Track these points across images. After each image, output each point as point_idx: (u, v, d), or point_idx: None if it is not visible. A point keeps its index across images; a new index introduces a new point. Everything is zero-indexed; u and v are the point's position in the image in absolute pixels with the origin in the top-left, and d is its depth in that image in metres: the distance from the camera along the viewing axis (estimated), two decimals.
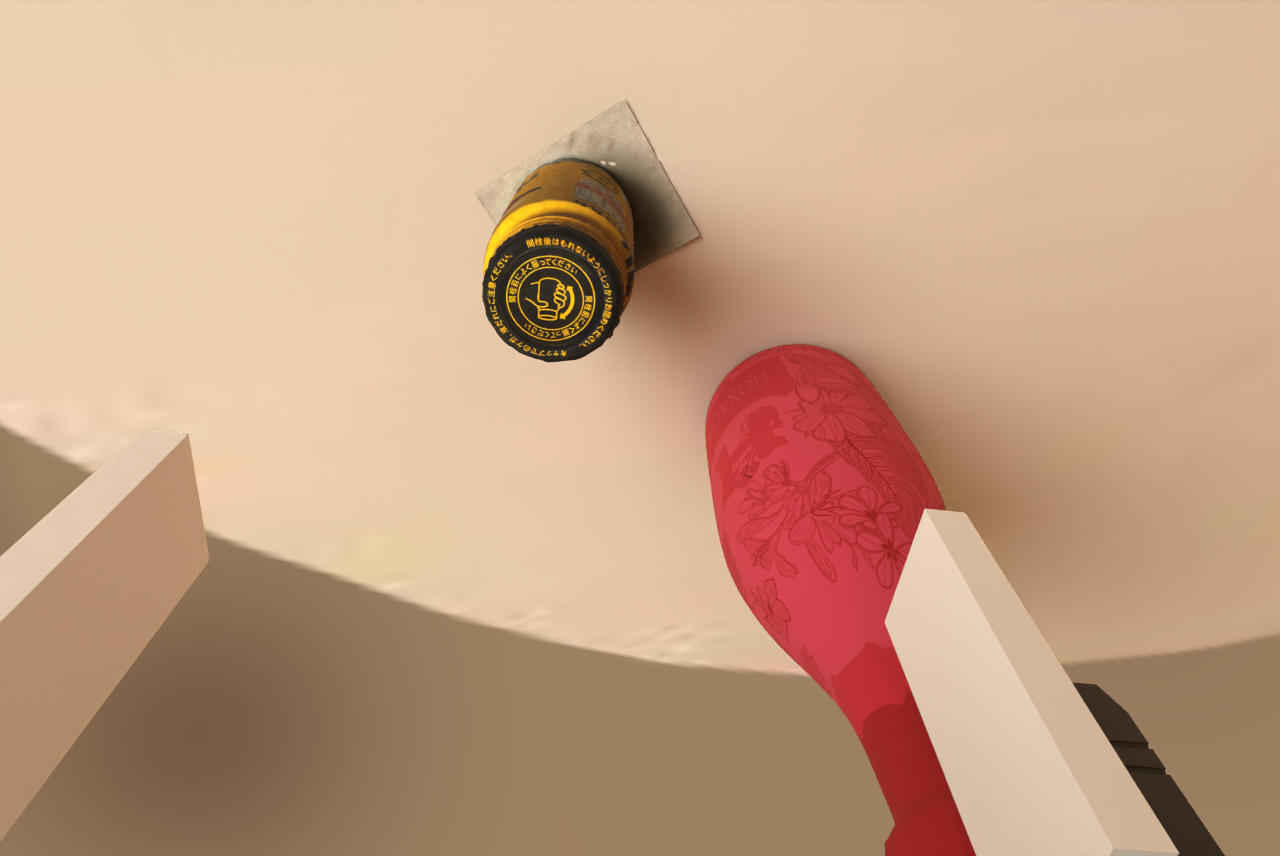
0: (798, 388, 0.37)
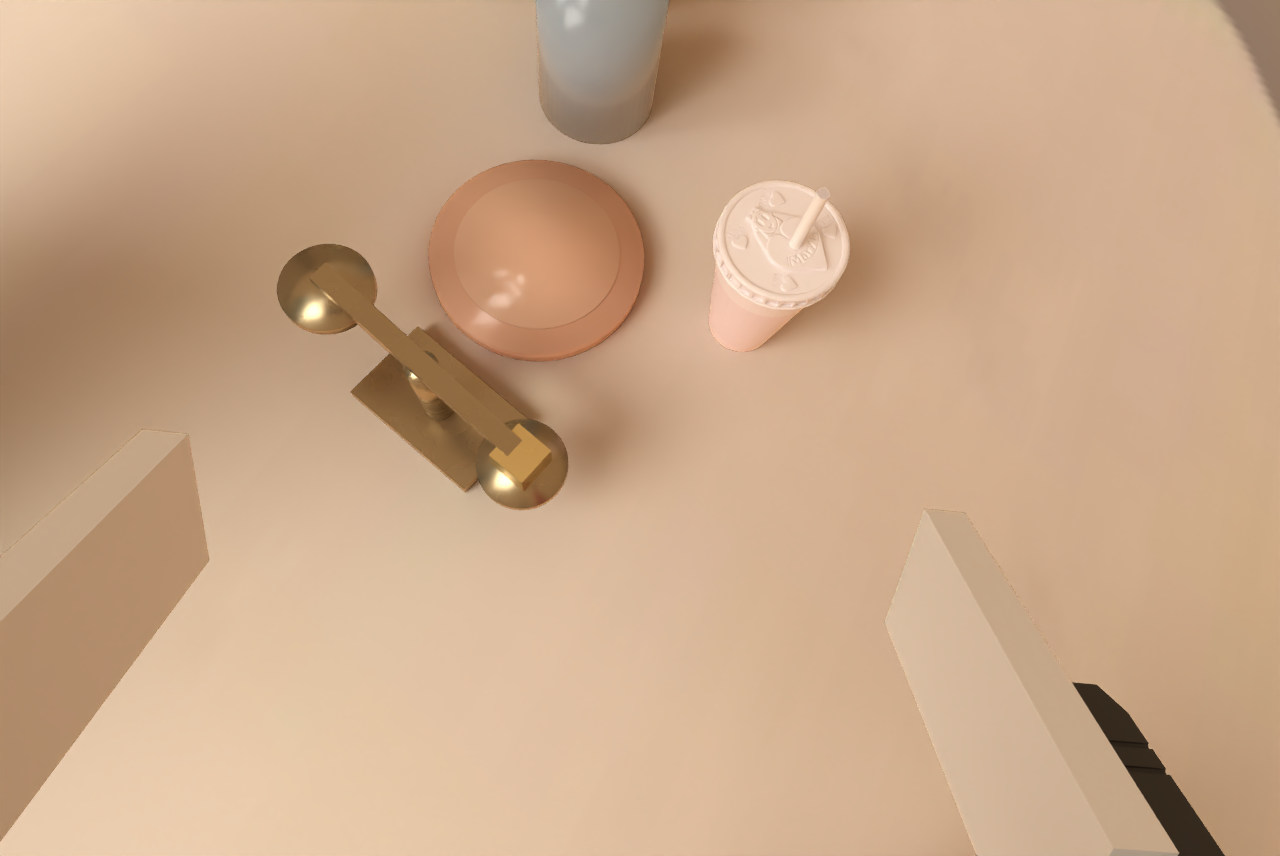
0: None
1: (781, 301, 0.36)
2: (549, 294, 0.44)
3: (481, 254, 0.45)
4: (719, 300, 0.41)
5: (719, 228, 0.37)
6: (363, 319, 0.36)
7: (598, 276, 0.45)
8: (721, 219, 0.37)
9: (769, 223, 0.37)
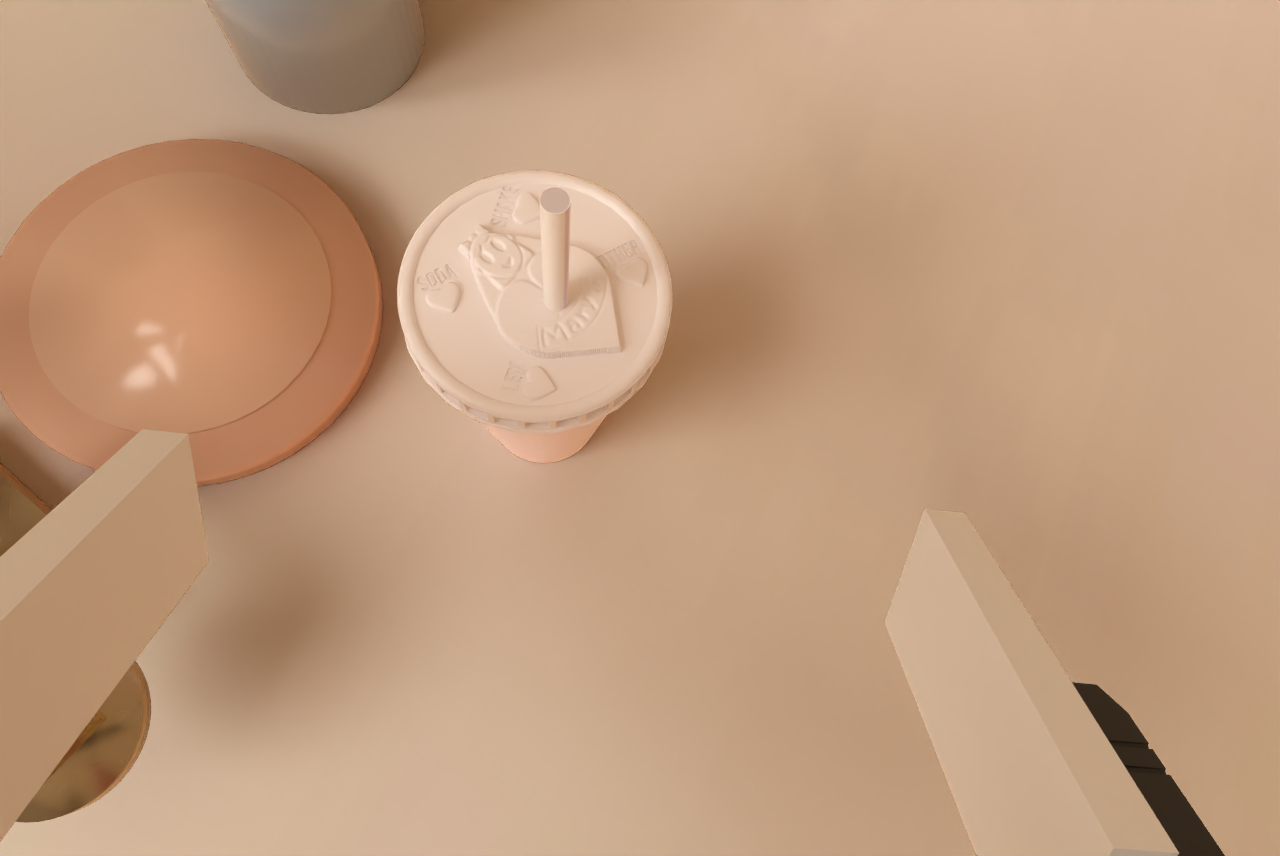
0: None
1: (521, 421, 0.18)
2: (196, 372, 0.25)
3: (80, 302, 0.26)
4: None
5: (402, 269, 0.18)
6: None
7: (287, 339, 0.26)
8: (408, 250, 0.18)
9: (505, 257, 0.18)
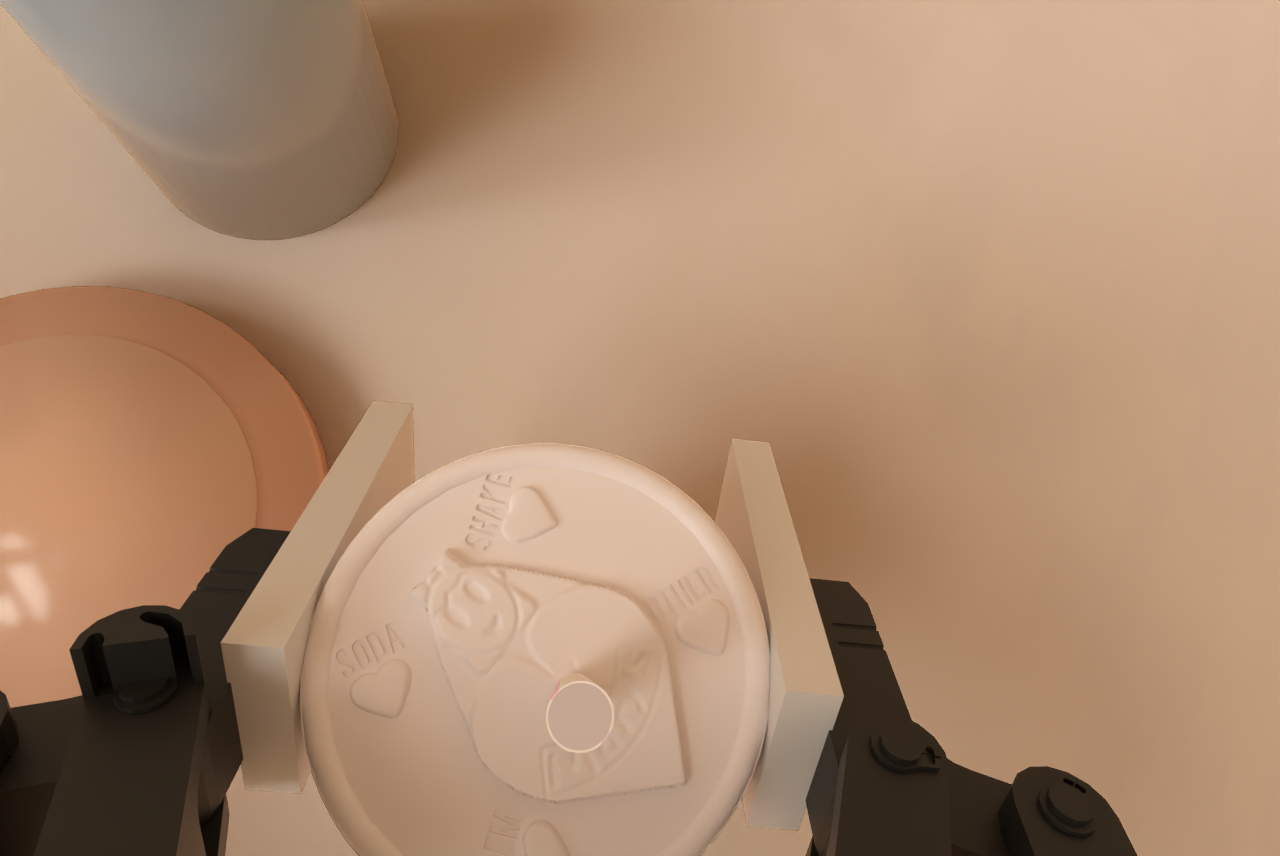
0: None
1: None
2: (57, 637, 0.18)
3: None
4: None
5: (311, 638, 0.11)
6: None
7: (191, 582, 0.18)
8: (322, 602, 0.11)
9: (488, 615, 0.11)
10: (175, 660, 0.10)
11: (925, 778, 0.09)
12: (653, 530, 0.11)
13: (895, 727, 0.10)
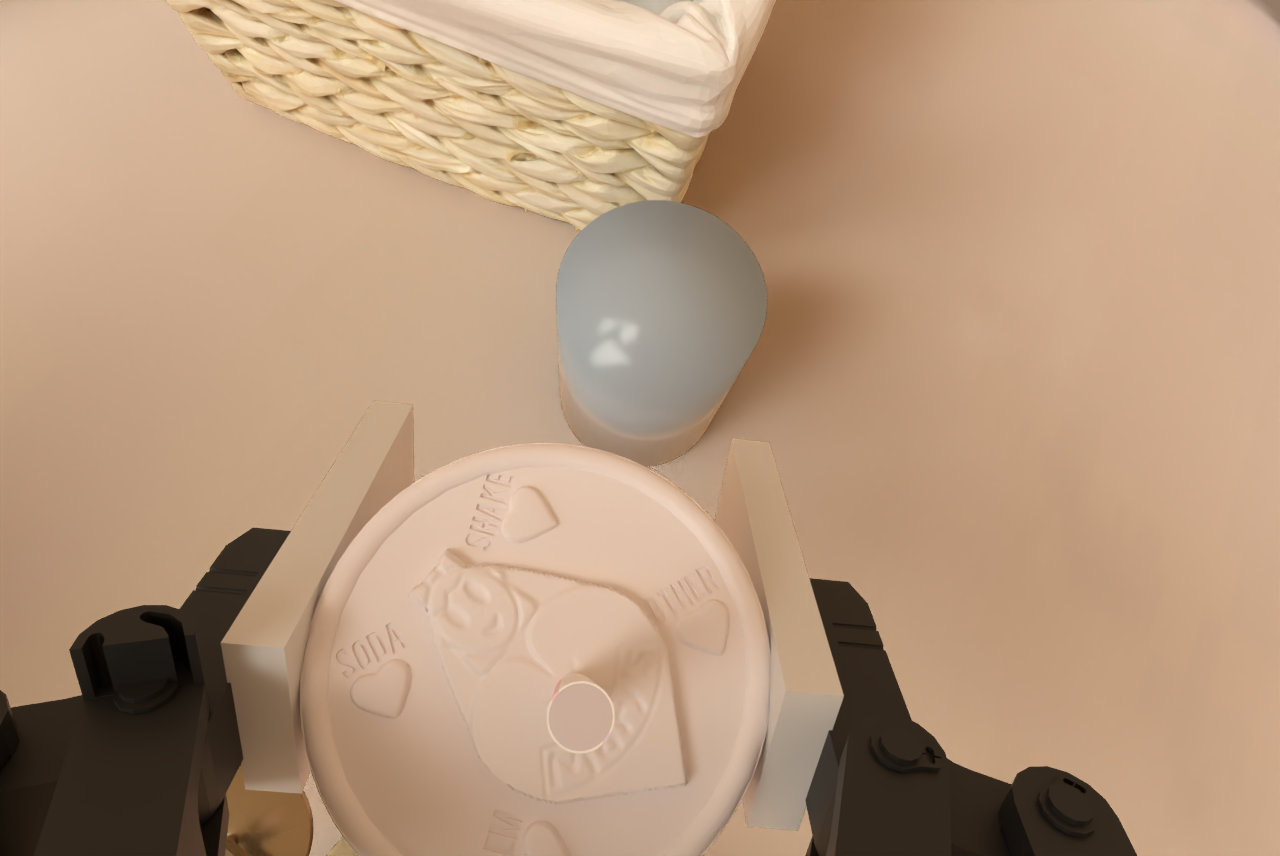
0: None
1: None
2: None
3: None
4: None
5: (310, 638, 0.11)
6: None
7: None
8: (322, 602, 0.11)
9: (488, 615, 0.11)
10: (175, 660, 0.10)
11: (925, 778, 0.09)
12: (653, 530, 0.11)
13: (895, 727, 0.10)
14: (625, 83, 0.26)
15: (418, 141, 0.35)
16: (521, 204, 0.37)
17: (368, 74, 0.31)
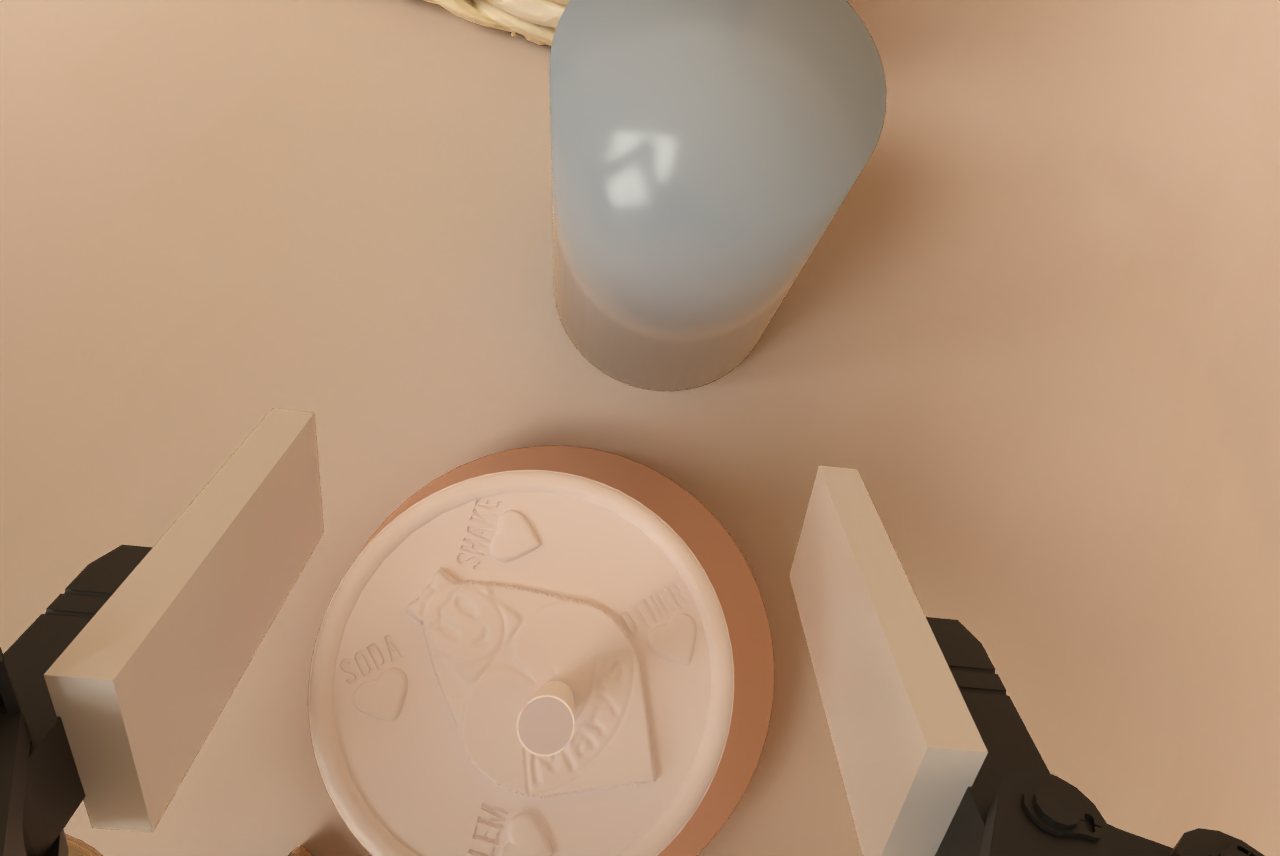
0: None
1: None
2: None
3: None
4: None
5: (317, 649, 0.12)
6: None
7: None
8: (328, 616, 0.12)
9: (476, 628, 0.12)
10: None
11: (1083, 846, 0.09)
12: (628, 550, 0.13)
13: (1051, 787, 0.09)
14: None
15: None
16: (506, 22, 0.27)
17: None
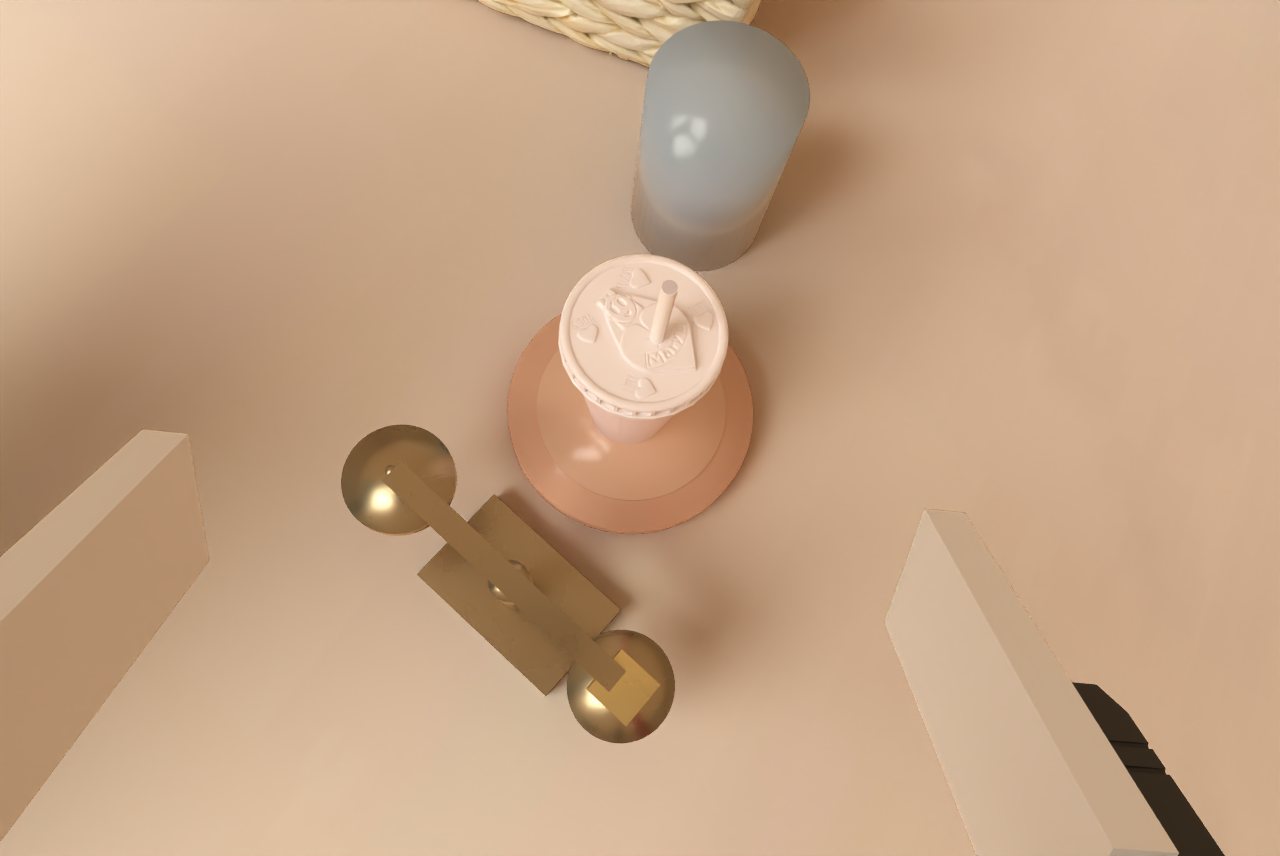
0: None
1: (634, 411, 0.29)
2: (646, 459, 0.38)
3: (568, 409, 0.39)
4: None
5: (563, 315, 0.30)
6: (444, 529, 0.30)
7: (701, 437, 0.39)
8: (566, 304, 0.30)
9: (626, 310, 0.30)
10: None
11: None
12: (686, 286, 0.30)
13: None
14: None
15: None
16: (607, 46, 0.45)
17: None
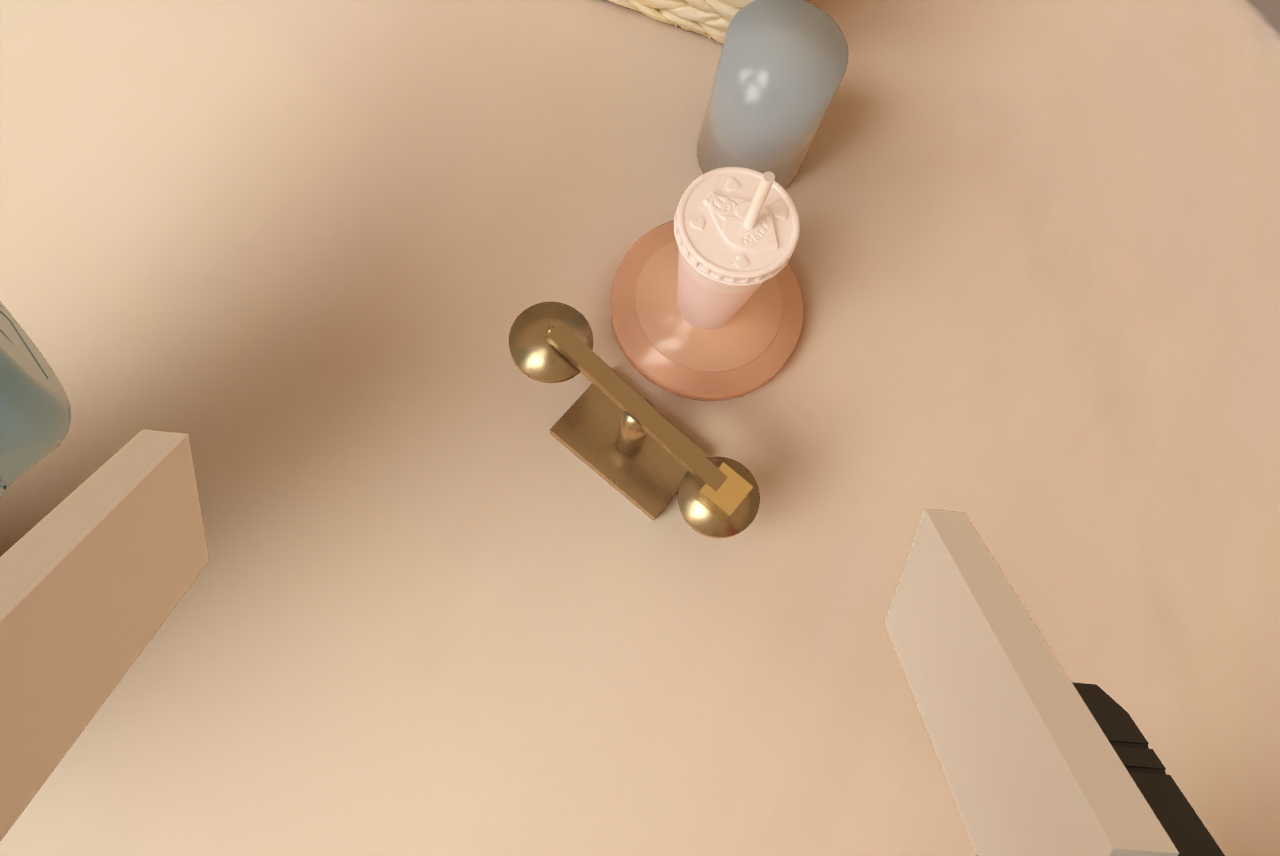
0: None
1: (735, 277, 0.40)
2: (722, 340, 0.49)
3: (659, 304, 0.49)
4: (683, 279, 0.44)
5: (679, 210, 0.40)
6: (593, 371, 0.41)
7: (764, 323, 0.50)
8: (681, 202, 0.40)
9: (724, 205, 0.40)
10: None
11: None
12: None
13: None
14: None
15: None
16: (674, 19, 0.56)
17: None
